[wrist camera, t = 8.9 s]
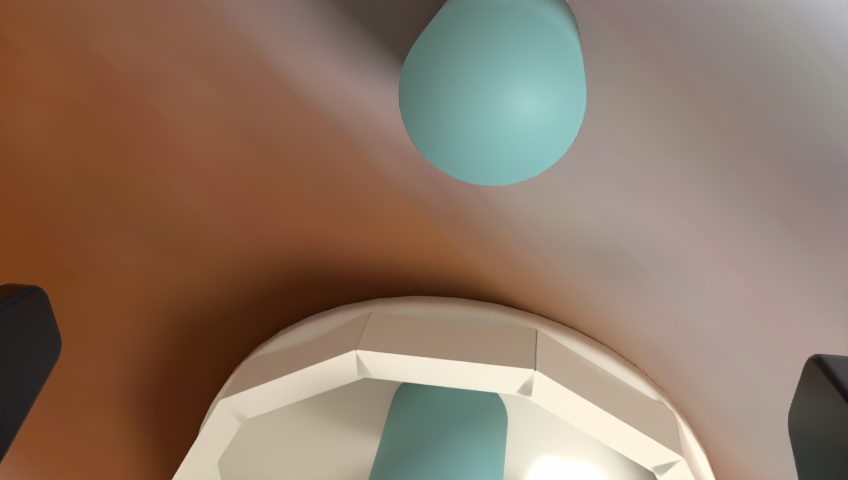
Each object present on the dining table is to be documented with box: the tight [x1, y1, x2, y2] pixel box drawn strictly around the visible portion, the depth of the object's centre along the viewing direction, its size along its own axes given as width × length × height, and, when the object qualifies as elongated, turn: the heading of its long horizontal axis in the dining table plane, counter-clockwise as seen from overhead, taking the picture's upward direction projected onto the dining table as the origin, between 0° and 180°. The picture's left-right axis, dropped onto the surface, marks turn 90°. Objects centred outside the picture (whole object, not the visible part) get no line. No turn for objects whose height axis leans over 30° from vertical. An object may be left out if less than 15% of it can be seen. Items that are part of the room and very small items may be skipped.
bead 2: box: [369, 382, 508, 480], centre depth 22 cm, size 4×4×4 cm
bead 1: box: [399, 0, 587, 186], centre depth 17 cm, size 4×4×4 cm
